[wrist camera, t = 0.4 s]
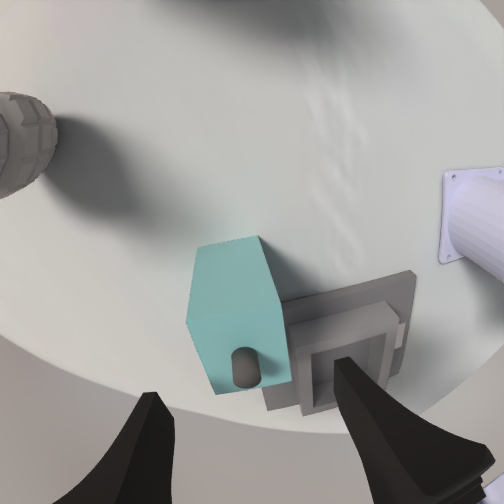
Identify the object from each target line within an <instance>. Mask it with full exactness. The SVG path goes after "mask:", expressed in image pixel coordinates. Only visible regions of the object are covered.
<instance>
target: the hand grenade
mask: <svg viewBox="0 0 504 504" xmlns="http://www.w3.org/2000/svg"><path fill="white" fill-rule="evenodd" d="M57 143H58V129H57V128H56V120H55V119H54V117H53V115H52V113H51V111H50V110H49V109H48V107H47V106H46V105H45V104H43V103H42V102H41V101H40V100H37V98H34V97H31V96H28V95H24V94H19V93H14V92H0V199H2V198H5V197H7V196H9V195H11V194H13V193H15V192H17V191H18V190H20V189H22V188H24V187H26V186H27V185H29V184H30V183H32V182H33V181H34V180H35V179H36V178H38V176H39V175H40V173H42V172H43V171H44V170H45V168H46V167H47V165H48V164H49V162H50V160H51V158H52V156H53V154H54V153H55V145H56V144H57Z"/></svg>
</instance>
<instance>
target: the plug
mask: <svg viewBox="0 0 504 504" xmlns="http://www.w3.org/2000/svg"><path fill="white" fill-rule="evenodd" d="M186 324H187V327H188V329H189V332H190V334H191V337H192V340H193V342H194V345H195V347H196V350H197V352H198V355H199V357H200V359H201V362H202V364H203V367H204V369H205V371H206V374H207V376H208V379H209V381H210V383H211V385H212V388H213V390H214V392H215V395H218V394H225V393H231V392H238V391H244V390H249V389H255V388H260V387H265V386H270V385H275V384H280V383H285V382H289V381H292V378H291V371H290V363H289V356H288V349H287V342H286V335H285V328H284V321H283V314H282V307H281V302H280V299H279V296H278V294H277V291H276V288H275V285H274V282H273V279H272V276H271V273H270V270H269V267H268V264H267V261H266V258H265V255H264V253H263V250H262V247H261V244H260V241H259V238H258V235H257V236H252V237H247V238H242V239H237V240H232V241H227V242H223V243H218V244H213V245H208V246H203V247H198V248H197V254H196V260H195V266H194V272H193V278H192V284H191V291H190V297H189V304H188V311H187V318H186Z"/></svg>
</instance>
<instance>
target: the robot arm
mask: <svg viewBox="0 0 504 504" xmlns="http://www.w3.org/2000/svg"><path fill="white" fill-rule="evenodd" d="M452 176H453V179H452ZM447 256H448V257H447ZM463 257H468V258H469V259H471V260H472V261H474V262H475V263H477V264H478V265H479V266H481V267H482V268H484V269H485V270H486V271H488V272H489V273H490V274H492V275H493V276H495V277H496V278H497V279H499V280H500V281H501V282H502V283H504V167H494V168H479V169H466V170H454V171H446V172H445V173H444V175H443V210H442V227H441V239H440V249H439V258H438V260H439V262H440V263H442V264H444V263H448V262H451V261H454V260H457V259H460V258H463ZM333 391H334V394H335V398H336V401H337V404H338V407H339V410H340V413H341V415H342V417H343V419H344V422H345V424H346V426H347V428H348V430H349V433H350V435H351V437H352V439H353V441H354V444H355V446H356V448H357V450H358V452H359V455H360V458H361V460H362V463H363V467H364V470H365V473H366V476H367V480H368V483H369V487H370V490H371V494H372V498H373V502H374V504H504V472H503V473H502V474H500V475H499V476H498V477H497V478H495V479H494V480H493V481H491V482H490V483H489V484H487V485H486V486H485V487H483V488H482V486H481V483H482V482H483V481H482V478H481V475H482V474H483V473H484V472H485V471H487V470H488V469H489V468H490V467H491V466H492V465H493V464H494V463H495V459H494V457H493V455H492V454H491V452H490V450H489V449H488V448H487V447H486V445H484V444H481V443H477V442H474V441H471V440H468V439H464V438H462V437H459V436H457V435H454V434H452V433H449V432H447V431H445V430H443V429H441V428H439V427H437V426H435V425H433V424H431V423H429V422H428V421H426V420H424V419H422V418H421V417H419V416H418V415H416V414H414V413H413V412H411V411H410V410H409V409H407V408H406V407H404V406H403V405H402V404H400V403H399V402H398V401H396V400H395V399H394V398H393V397H391V396H390V395H389V394H388V393H387V392H385V391H384V390H383V389H382V388H381V387H380V386H379V385H378V384H376V383H375V382H374V381H373V380H372V379H371V378H370V377H369V376H368V375H367V374H366V373H365V372H364V371H363V370H362V369H361V368H360V367H359V366H358V365H357V364H356V363H355V361H354V360H353V359H352V358H351V357H349V356H347V357H344V358H340V359H337V360H334V386H333ZM174 444H175V427H174V418H173V416H172V415H171V413H170V412H169V410H168V409H167V407H166V406H165V404H164V403H163V401H162V400H161V398H160V397H159V395H158V393H157V392H146V393H143V394H142V396H141V397H140V399H139V401H138V402H137V404H136V406H135V408H134V409H133V411H132V413H131V415H130V416H129V418H128V420H127V421H126V423H125V425H124V427H123V428H122V430H121V432H120V433H119V435H118V436H117V438H116V439H115V441H114V442H113V444H112V445H111V447H110V448H109V449H108V451H107V452H106V454H105V455H104V456H103V458H102V459H101V460H100V461H99V463H98V464H97V465H96V466H95V468H93V470H92V471H91V472H90V473H89V474H88V475H87V476H86V477H85V478H84V479H83V480H82V481H81V482H80V483H79V484H78V485H77V486H75V487H74V488H73V489H72V490H71V491H69V492H68V493H67V494H66V495H64V496H63V497H62V498H60V499H59V500H57V501H56V502H54V503H53V504H172V497H171V478H172V467H173V466H172V465H173V455H174Z"/></svg>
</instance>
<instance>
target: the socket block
mask: <svg viewBox="0 0 504 504" xmlns="http://www.w3.org/2000/svg"><path fill="white" fill-rule="evenodd" d="M415 283H416V275H415V274H414V273H413V272H412V271H411V270H408V271H405V272H401V273H398V274H394V275H391V276H387V277H383V278H380V279H376V280H372V281H368V282H364V283H361V284H357V285H353V286H349V287H345V288H341V289H337V290H333V291H329V292H324V293H320V294H316V295H312V296H307V297H303V298H299V299H294V300H290V301H285V302H281V307H282V314H283V321H284V328H285V335H286V342H287V349H288V356H289V363H290V371H291V378H292V381H289V382H285V383H280V384H275V385H270V386H265V387H262V391H263V395H264V399H265V403H266V407H267V411H270V410H275V409H280V408H285V407H289V406H294V405H298V404H299V405H300V409H301V413H302V416H307V415H311V414H314V413H318V412H322V411H326V410H329V409H333V408H336V407H338V404H337V401H336V398H335V394H334V391H333V386H334V360H337V359H340V358H344V357H347V356H349V357H351V358H352V359H353V360H354V361H355V363H356V364H357V365H358V366H359V367H360V368H361V369H362V370H363V371H364V372H365V373H366V374H367V375H368V376H369V377H370V378H371V379H372V380H373V381H374V382H375V383H376V384H378V385H379V386H380V387H381V388H382V389H383V390H384V391H385V389H386V385H387V381H388V377H390V376H393V375H396V374H398V373H399V369H400V365H401V361H402V357H403V352H404V348H405V343H406V338H407V333H408V328H409V322H410V317H411V311H412V305H413V298H414V291H415Z"/></svg>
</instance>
